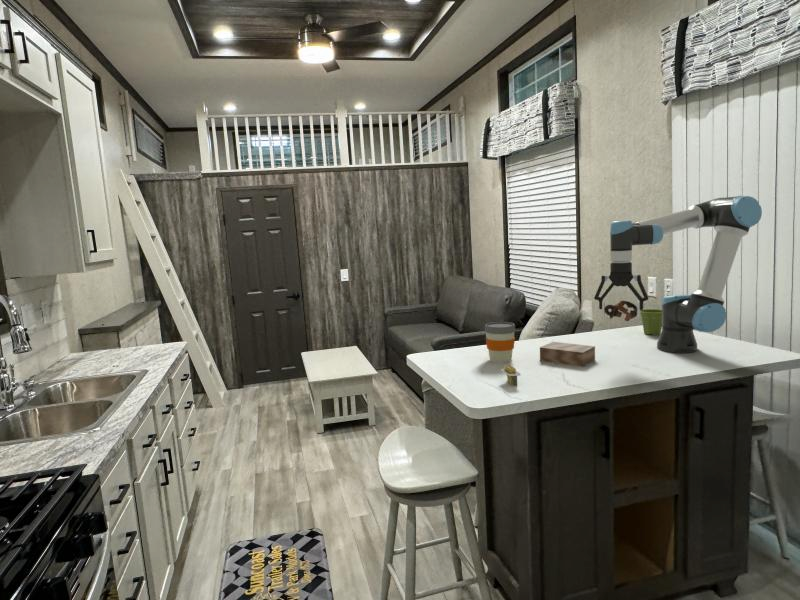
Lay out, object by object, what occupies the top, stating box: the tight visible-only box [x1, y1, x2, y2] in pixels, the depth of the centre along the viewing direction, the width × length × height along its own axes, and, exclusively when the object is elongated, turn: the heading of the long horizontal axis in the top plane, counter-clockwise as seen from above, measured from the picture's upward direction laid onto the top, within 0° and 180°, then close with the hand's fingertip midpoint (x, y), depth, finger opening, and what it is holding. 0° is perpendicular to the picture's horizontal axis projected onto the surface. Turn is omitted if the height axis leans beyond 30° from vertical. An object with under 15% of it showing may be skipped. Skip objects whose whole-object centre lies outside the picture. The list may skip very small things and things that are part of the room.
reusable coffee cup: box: [484, 321, 516, 363], centre depth 217 cm, size 13×13×15 cm
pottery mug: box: [604, 300, 637, 322], centre depth 201 cm, size 12×10×8 cm
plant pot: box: [640, 308, 662, 336], centre depth 251 cm, size 12×12×11 cm
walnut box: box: [539, 341, 596, 368], centre depth 211 cm, size 18×12×6 cm, turn 48°
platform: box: [500, 364, 522, 387], centre depth 185 cm, size 12×18×7 cm, turn 12°
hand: (620, 318), depth 200 cm, fingers closed on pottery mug, 12 cm apart
